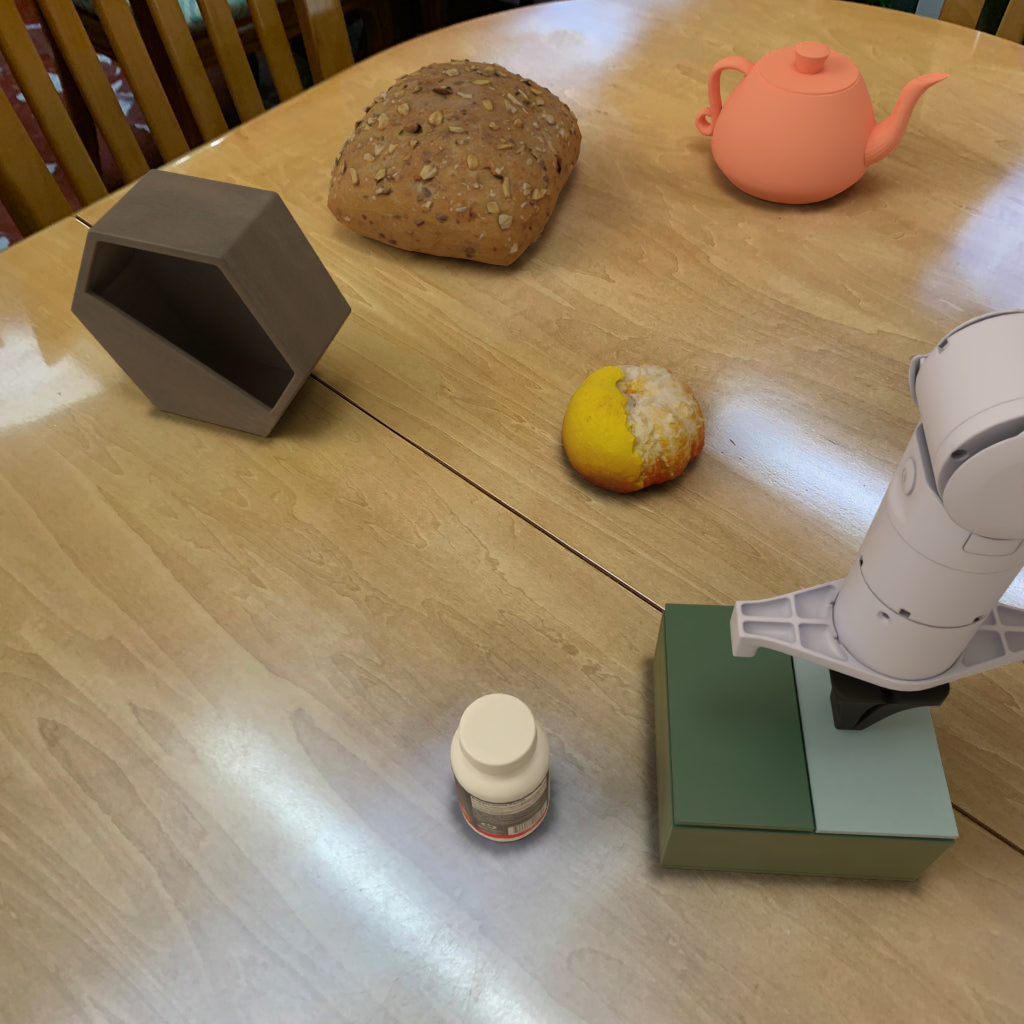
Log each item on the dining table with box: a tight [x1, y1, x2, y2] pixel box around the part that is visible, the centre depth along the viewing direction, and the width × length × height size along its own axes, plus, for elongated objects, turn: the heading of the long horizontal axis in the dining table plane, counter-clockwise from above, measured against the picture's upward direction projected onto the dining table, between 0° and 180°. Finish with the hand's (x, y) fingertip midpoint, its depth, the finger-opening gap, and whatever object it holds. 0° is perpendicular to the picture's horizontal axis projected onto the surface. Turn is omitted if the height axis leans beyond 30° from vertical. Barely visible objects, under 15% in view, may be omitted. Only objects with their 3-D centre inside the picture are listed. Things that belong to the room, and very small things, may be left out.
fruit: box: [561, 362, 706, 495], centre depth 69 cm, size 11×10×8 cm
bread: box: [326, 58, 583, 267], centre depth 88 cm, size 24×21×12 cm
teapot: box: [694, 40, 950, 205], centre depth 89 cm, size 22×16×12 cm
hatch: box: [791, 656, 960, 840], centre depth 50 cm, size 7×13×1 cm, turn 176°
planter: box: [70, 168, 352, 438], centre depth 69 cm, size 17×8×21 cm
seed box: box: [652, 602, 956, 882], centre depth 53 cm, size 14×13×7 cm
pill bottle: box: [450, 692, 551, 842], centre depth 51 cm, size 5×5×10 cm
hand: (845, 712), depth 50 cm, fingers closed, pressing on hatch
